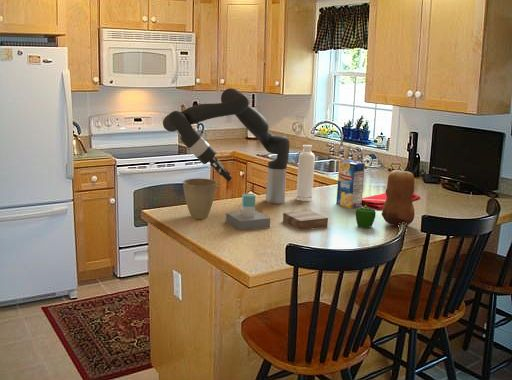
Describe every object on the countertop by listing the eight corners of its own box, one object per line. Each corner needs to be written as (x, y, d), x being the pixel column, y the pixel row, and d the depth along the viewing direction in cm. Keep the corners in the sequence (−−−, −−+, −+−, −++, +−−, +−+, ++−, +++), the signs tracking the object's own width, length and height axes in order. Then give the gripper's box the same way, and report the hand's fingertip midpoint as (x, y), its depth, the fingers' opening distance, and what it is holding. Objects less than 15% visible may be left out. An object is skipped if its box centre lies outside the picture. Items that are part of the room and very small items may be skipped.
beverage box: (351, 208, 284) (355, 164, 279) (336, 203, 293) (339, 160, 288) (361, 207, 288) (365, 163, 283) (346, 202, 297) (349, 159, 292)
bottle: (312, 201, 295) (316, 146, 289) (296, 200, 295) (299, 146, 289) (311, 197, 303) (314, 144, 297) (295, 197, 303) (299, 143, 297)
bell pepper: (360, 222, 259) (362, 201, 257) (377, 226, 254) (379, 204, 252) (351, 226, 253) (352, 204, 250) (367, 230, 248) (369, 207, 245)
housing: (242, 217, 245) (243, 196, 243) (241, 213, 250) (242, 193, 248) (254, 217, 246) (255, 196, 244) (252, 213, 251) (253, 193, 249)
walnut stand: (283, 221, 256) (283, 212, 255) (309, 218, 262) (310, 210, 261) (299, 230, 244) (300, 220, 243) (327, 227, 250) (328, 218, 249)
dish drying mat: (420, 199, 312) (421, 192, 311) (379, 211, 283) (380, 204, 282) (394, 194, 322) (395, 187, 322) (352, 205, 293) (353, 198, 292)
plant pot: (178, 213, 261) (179, 178, 258) (210, 211, 267) (211, 177, 263) (186, 222, 248) (187, 186, 244) (220, 220, 253) (221, 184, 250)
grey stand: (225, 221, 251) (226, 212, 251) (254, 218, 258) (254, 210, 257) (240, 230, 239) (240, 221, 239) (269, 227, 246) (270, 218, 245)
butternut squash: (407, 222, 264) (413, 168, 258) (416, 230, 251) (423, 173, 245) (377, 221, 263) (382, 167, 258) (385, 229, 250) (390, 172, 245)
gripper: (210, 146, 232) (237, 175, 236) (207, 141, 245) (234, 168, 250) (196, 159, 232) (224, 187, 236) (195, 153, 246) (221, 180, 250)
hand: (229, 177), depth 243 cm, fingers open, 8 cm apart
